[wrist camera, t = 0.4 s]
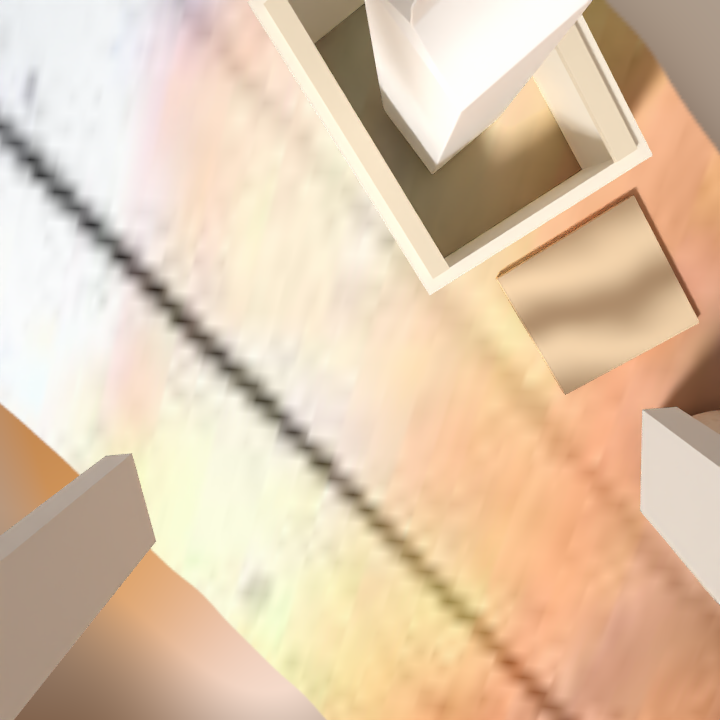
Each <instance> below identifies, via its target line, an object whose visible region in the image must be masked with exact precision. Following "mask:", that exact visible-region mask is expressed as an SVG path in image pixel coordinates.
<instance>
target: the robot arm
mask: <svg viewBox="0 0 720 720" xmlns="http://www.w3.org/2000/svg"><path fill="white" fill-rule="evenodd" d="M640 511H641V512H642V514H643V515H644V516H645V517H646V518H647V519H648V521H649V522H650V523H651V524H652V525H653V527H654V528H655V529H656V530H657V531H658V532H659V534H660V535H661V536H662V537H663V538H664V540H665V541H666V542H667V543H668V544H669V545H670V547H671V548H672V549H673V550H674V551H675V552H676V554H677V555H678V556H679V557H680V558H681V560H682V561H683V562H684V563H685V564H686V565H687V567H688V568H689V569H690V570H691V571H692V573H693V574H694V575H695V576H696V577H697V578H698V580H699V581H700V582H701V583H702V584H703V585H704V587H705V588H706V589H707V590H708V591H709V593H710V594H711V595H712V596H713V597H714V598H715V600H716V601H717V602H718V603H719V604H720V434H718V433H717V432H715V431H713V430H712V429H710V428H709V427H707V426H706V425H704V424H703V423H701V422H699V421H698V420H696V419H695V418H693V417H692V416H690V415H688V414H687V413H685V412H684V411H682V410H681V409H679V408H678V407H668V408H657V409H645V410H642V455H641V506H640ZM155 542H156V540H155V536H154V532H153V529H152V525H151V522H150V518H149V514H148V511H147V507H146V503H145V500H144V496H143V492H142V489H141V485H140V481H139V478H138V474H137V470H136V467H135V463H134V459H133V456H132V454H121V455H109V456H105V457H104V458H102V459H101V460H100V461H98V462H97V463H96V464H94V465H93V466H92V467H90V468H89V469H88V470H86V471H85V472H84V473H82V474H81V475H80V476H78V477H77V478H76V479H75V480H73V481H72V482H71V483H69V484H68V485H67V486H65V487H64V488H63V489H61V490H60V491H59V492H57V493H56V494H55V495H53V496H52V497H51V498H49V499H48V500H47V501H45V502H44V503H43V504H41V505H40V506H39V507H38V508H36V509H35V510H34V511H32V512H31V513H30V514H28V515H27V516H26V517H24V518H23V519H22V520H20V521H19V522H18V523H16V524H15V525H14V526H12V527H11V528H10V529H9V530H7V531H6V532H4V534H2V535H1V536H0V720H14V719H15V718H16V716H17V715H18V714H19V713H20V711H21V710H22V709H23V708H24V706H25V705H26V704H27V702H28V701H29V700H30V699H31V698H32V696H33V695H34V694H35V693H36V691H37V690H38V689H39V687H40V686H41V685H42V684H43V682H44V681H45V680H46V679H47V677H48V676H49V675H50V673H51V672H52V671H53V670H54V668H55V667H56V666H57V665H58V664H59V662H60V661H61V660H62V659H63V657H64V656H65V655H66V653H67V652H68V651H69V650H70V649H71V647H72V646H73V645H74V644H75V642H76V641H77V640H78V638H79V637H80V636H81V635H82V633H83V632H84V631H85V630H86V628H87V627H88V626H89V624H90V623H91V622H92V621H93V620H94V618H95V617H96V616H97V614H98V613H99V612H100V610H102V608H103V607H104V606H105V605H106V603H107V602H108V601H109V600H110V598H111V597H112V595H114V593H115V592H116V591H117V589H118V588H119V587H120V586H121V584H122V583H123V582H124V581H125V579H126V578H127V577H128V576H129V574H130V573H131V572H132V571H133V569H134V568H135V567H136V566H137V564H138V563H139V562H140V561H141V559H142V558H143V557H144V555H145V554H146V553H147V552H148V551H149V549H150V548H151V547H152V546H153V544H154V543H155Z"/></svg>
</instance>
